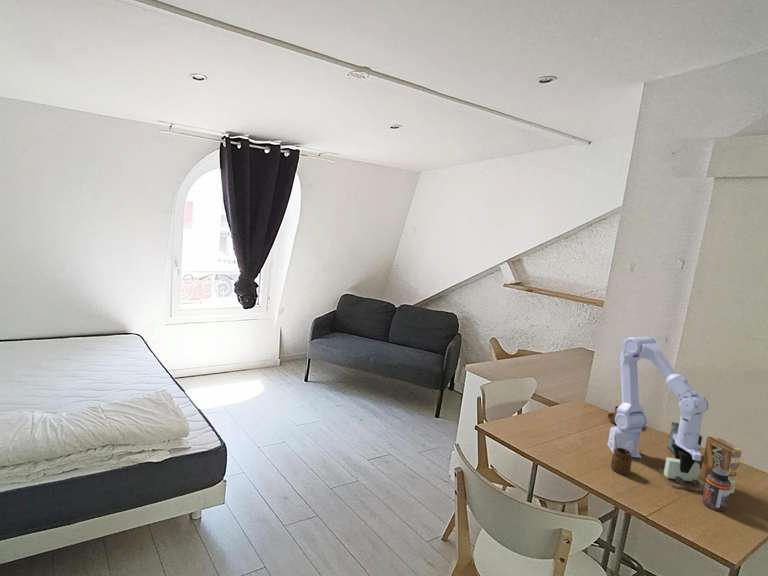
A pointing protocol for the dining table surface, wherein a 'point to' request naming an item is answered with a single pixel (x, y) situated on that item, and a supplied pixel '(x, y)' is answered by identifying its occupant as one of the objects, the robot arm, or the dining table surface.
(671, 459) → the door
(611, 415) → the cup and saucer
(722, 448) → the candy box
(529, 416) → the dining table surface
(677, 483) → the side panel
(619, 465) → the utensil holder
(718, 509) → the supplement bottle
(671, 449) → the small box
